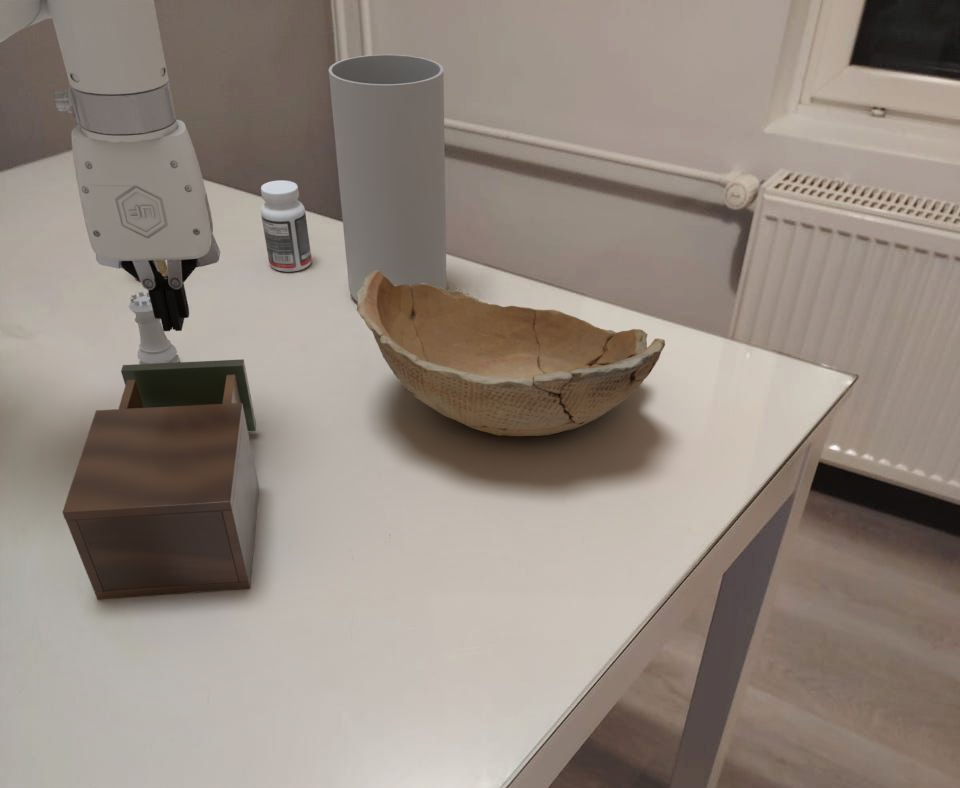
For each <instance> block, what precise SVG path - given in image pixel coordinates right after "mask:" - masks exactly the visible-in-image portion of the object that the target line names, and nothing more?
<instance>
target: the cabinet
mask: <svg viewBox="0 0 960 788" xmlns="http://www.w3.org/2000/svg"><path fill="white" fill-rule="evenodd" d="M255 465H256V464H255V461H254V455H253V450H252V445H251V441H250V435H249V431H248V430H247V425H246V420H245V415H244V410H243V405H242V403H230V404H211V405H191V406H172V407H152V408H133V409H119V408H116V409H115V408H114V409H113V408H112V409H97V410H95V412H94V416H93V417H92V422H91V424H90V428H89V430H88V434H87V436H86V440H85V443H84V445H83V448H82V452H81V454H80V458H79V461H78V463H77V467H76V470H75V473H74V475H73V479H72V481H71V484H70V488H69V491H68V493H67V497H66V501H65V503H64V506H63V509H62V512H61V513H62V515H63V518H64V519H65V522H66V525H67V527H68V529H69V532H70V535H71V537H72V540H73V542H74V545H75V547H76V550H77V552H78V555H79V557H80V559H81V562H82V564H83V567H84V570H85V572H86V575H87V578H88V580H89V582H90V585H91V587H92V590H93V592H94V595H95V598H96V600H104V599H105V600H106V599H119V598H120V599H121V598H133V597H147V596H162V595H176V594H188V593H203V592H218V591H230V590H231V591H233V590H246V589H247V590H248V589H251V583H252V573H253V572H252V570H253V561H254V560H253V558H254V547H255V536H256V524H257V513H258V511H257V510H258V500H259V489H260V485H259V481H258V480H259V479H258V475H257V471H256V466H255Z"/></svg>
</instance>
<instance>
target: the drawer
mask: <svg viewBox="0 0 960 788" xmlns="http://www.w3.org/2000/svg"><path fill="white" fill-rule="evenodd" d="M120 373H121V377H122V379H123V382H124V389H123V393H122V396H121V399H120V402H119V406H118V409H133V408H152V407H172V406H191V405H211V404H230V403H242V405H243V410H244V415H245V420H246V425H247V430H248V432H256V431H257V421H256V417H255V416H256V415H255V410H254V406H253V399H252V394H251V390H250V389H251V388H250V384H249V379H248V374H247V369H246V364H245V359H243V358H242V359H223V360H202V361H201V360H199V361H181V362H179V361H178V362H177V363H156V364H139V363H136V364H122V368H121V370H120Z"/></svg>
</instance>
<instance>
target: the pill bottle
mask: <svg viewBox="0 0 960 788" xmlns="http://www.w3.org/2000/svg"><path fill="white" fill-rule="evenodd" d="M260 192H261V199H262V200H263V201H264V203H263V205H262V206H261V208H260V216H261V222H262V227H263V234H264V241H265V246H266V247H265V248H266V252H267V253H266V254H267V259H268V263H269V266H270V267H271V268H272V269H274V270H276V271H279V272H282V273H283V272H284V273H287V272H288V273H292V272H293V273H294V272H299V271H302V270H304V269H306V268H308V267H309V266H310V265H311V263H312V253H311V243H310V236H309V230H308V229H309V228H308V222H307V215H306V209H305V206H304V204H303V203H302V202H301V201H300V200H299V197H300V192H299V186H298V183H296V182H294V181H290V180H284V179H283V180H282V179H280V180H272V181H267V182H265V183H263V184H262V185H261V186H260Z"/></svg>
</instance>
